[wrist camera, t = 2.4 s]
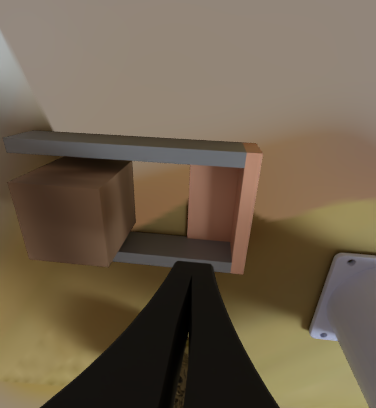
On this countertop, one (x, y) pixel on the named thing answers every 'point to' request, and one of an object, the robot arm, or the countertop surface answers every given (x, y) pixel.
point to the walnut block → (75, 209)
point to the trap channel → (198, 192)
